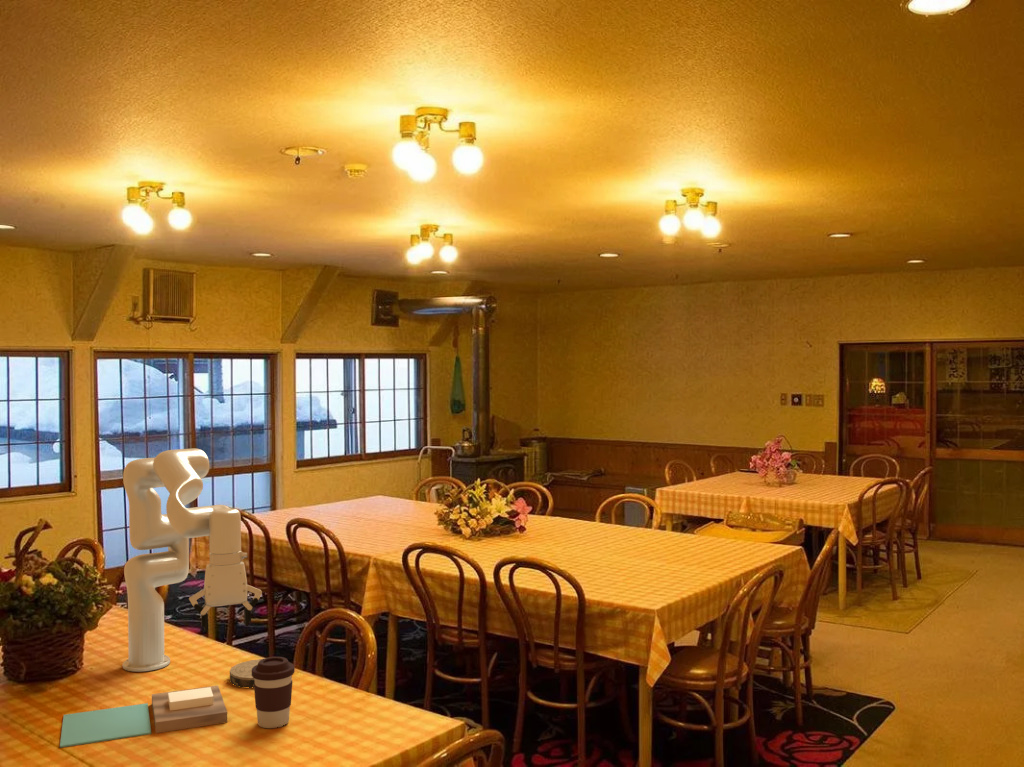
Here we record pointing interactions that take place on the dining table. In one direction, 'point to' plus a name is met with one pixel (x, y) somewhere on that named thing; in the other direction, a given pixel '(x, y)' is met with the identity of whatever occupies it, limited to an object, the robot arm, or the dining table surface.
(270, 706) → the coffee cup
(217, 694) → the panel
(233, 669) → the wood slice coaster
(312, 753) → the dining table surface
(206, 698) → the cream foam board
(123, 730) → the mat
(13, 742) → the dining table surface
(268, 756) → the dining table surface
